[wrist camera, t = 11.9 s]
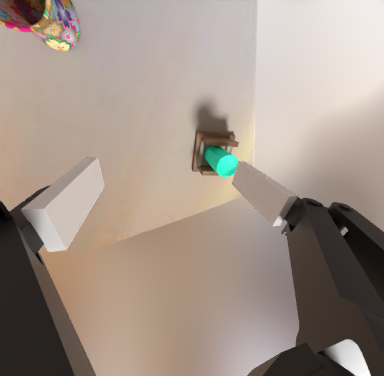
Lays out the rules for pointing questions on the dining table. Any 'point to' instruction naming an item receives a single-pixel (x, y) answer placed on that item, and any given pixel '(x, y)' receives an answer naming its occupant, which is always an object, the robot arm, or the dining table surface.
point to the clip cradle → (205, 141)
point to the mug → (43, 21)
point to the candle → (221, 160)
